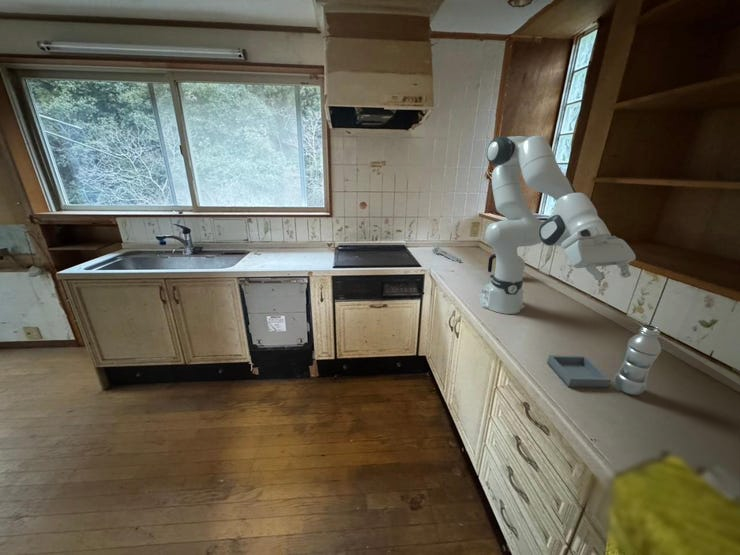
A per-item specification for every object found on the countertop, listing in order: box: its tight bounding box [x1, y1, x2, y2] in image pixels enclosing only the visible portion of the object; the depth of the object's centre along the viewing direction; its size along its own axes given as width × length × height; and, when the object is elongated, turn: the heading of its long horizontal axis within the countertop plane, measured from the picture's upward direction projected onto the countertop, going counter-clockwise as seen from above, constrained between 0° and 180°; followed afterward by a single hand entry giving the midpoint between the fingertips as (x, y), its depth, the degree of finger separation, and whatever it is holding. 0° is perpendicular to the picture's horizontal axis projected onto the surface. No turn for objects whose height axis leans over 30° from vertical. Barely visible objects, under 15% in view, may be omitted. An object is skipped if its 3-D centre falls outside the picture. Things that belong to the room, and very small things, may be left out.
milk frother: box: [487, 253, 496, 279], centre depth 161 cm, size 14×16×15 cm
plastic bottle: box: [613, 323, 662, 396], centre depth 79 cm, size 6×7×20 cm
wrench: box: [430, 241, 462, 264], centre depth 204 cm, size 8×2×30 cm
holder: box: [546, 354, 611, 389], centre depth 88 cm, size 11×11×3 cm
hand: (614, 278), depth 83 cm, fingers open, 8 cm apart
